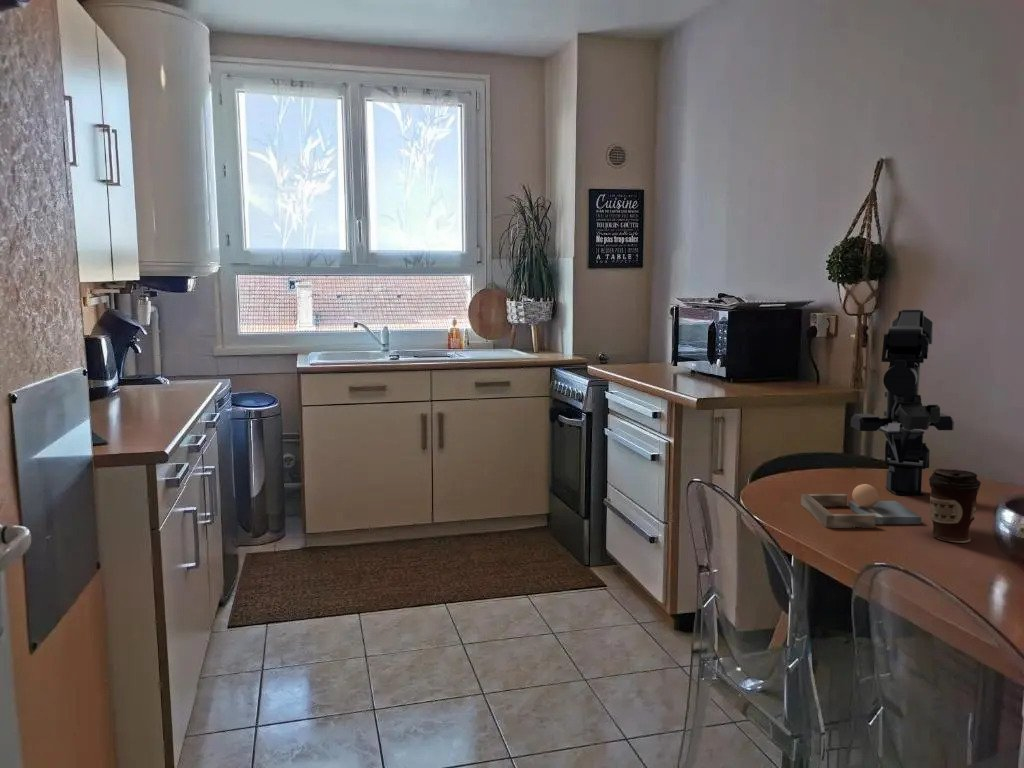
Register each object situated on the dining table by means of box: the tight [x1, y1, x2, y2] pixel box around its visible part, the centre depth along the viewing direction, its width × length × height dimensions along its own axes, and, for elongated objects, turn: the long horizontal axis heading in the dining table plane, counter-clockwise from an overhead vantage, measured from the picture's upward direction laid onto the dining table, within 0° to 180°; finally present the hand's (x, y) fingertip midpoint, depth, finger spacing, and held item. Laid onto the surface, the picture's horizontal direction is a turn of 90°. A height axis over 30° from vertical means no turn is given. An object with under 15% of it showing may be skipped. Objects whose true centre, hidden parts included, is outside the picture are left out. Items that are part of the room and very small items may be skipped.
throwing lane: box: [800, 493, 922, 529], centre depth 163 cm, size 20×16×2 cm
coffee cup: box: [928, 468, 982, 544], centre depth 147 cm, size 9×8×13 cm
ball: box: [851, 483, 879, 508], centre depth 164 cm, size 5×5×5 cm
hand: (899, 462), depth 162 cm, fingers closed
